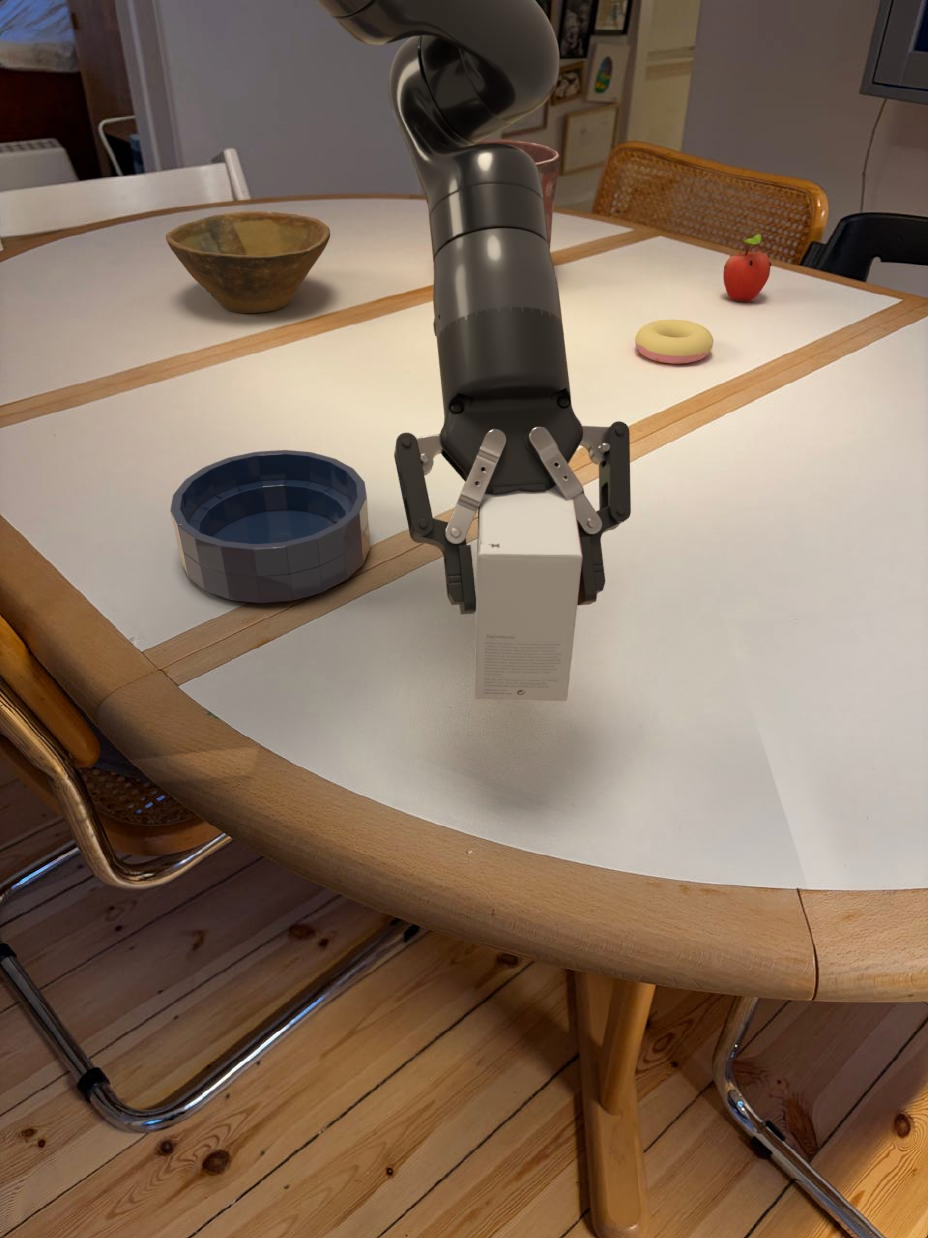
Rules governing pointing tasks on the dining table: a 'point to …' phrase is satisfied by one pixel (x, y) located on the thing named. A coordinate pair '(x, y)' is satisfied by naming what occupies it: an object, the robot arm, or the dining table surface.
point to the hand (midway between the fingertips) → (528, 607)
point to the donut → (674, 341)
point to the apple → (746, 273)
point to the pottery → (540, 171)
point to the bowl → (250, 256)
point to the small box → (526, 595)
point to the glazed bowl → (271, 525)
